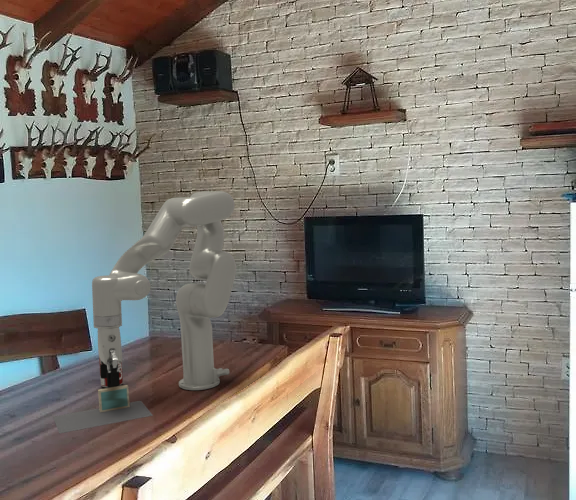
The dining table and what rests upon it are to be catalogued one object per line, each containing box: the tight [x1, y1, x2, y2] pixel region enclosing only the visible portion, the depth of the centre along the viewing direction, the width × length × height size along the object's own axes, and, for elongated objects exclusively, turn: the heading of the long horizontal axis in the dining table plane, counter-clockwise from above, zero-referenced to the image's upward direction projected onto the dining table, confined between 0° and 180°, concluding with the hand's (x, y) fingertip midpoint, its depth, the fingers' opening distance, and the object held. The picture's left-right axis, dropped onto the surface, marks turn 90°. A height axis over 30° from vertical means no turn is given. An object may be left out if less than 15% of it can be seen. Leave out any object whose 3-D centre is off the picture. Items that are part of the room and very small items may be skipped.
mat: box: [52, 400, 153, 435], centre depth 177 cm, size 24×14×1 cm, turn 116°
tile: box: [97, 384, 130, 412], centre depth 182 cm, size 8×2×6 cm, turn 116°
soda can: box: [98, 357, 124, 389], centre depth 205 cm, size 7×7×12 cm
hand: (109, 382), depth 181 cm, fingers open, 9 cm apart
